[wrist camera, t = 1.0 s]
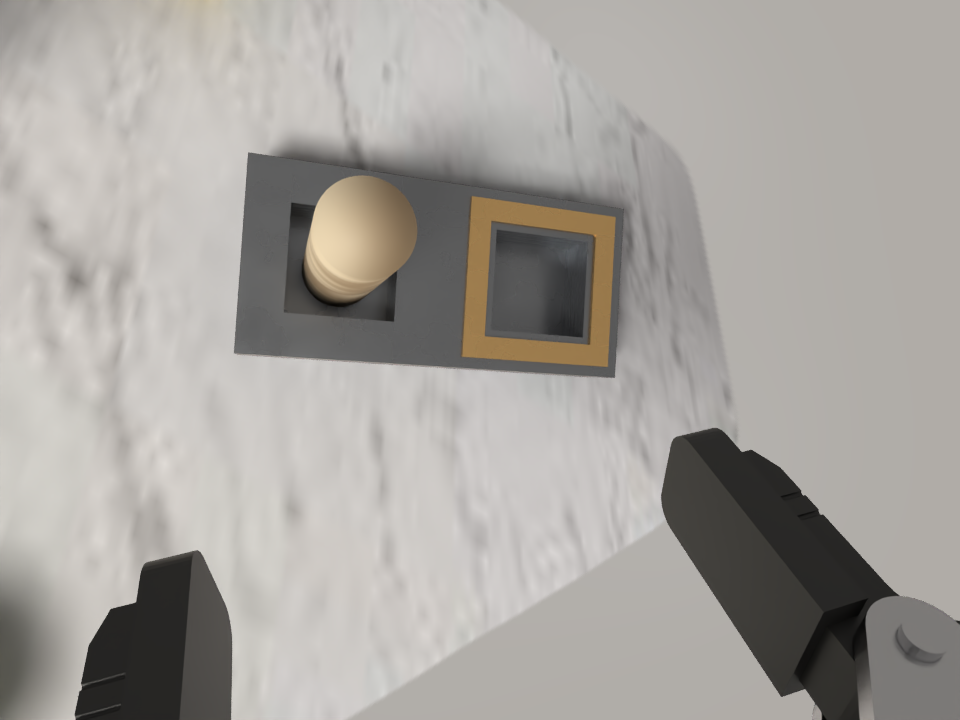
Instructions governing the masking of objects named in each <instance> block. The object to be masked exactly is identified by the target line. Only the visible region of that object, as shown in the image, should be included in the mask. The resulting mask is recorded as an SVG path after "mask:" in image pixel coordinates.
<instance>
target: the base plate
mask: <svg viewBox="0 0 960 720" xmlns="http://www.w3.org/2000/svg"><path fill="white" fill-rule="evenodd" d="M362 175H363V176H372V177H376V178H379V179H382V180H384V181H386V182H388V183H390V184H392V185H393V186H395V187H396V188H397V189H398V190H399V191H401V193H402V194H403V195H404V196H405V197H406V198H407V200H408V201H409V203H410V205H411V207H412V209H413V211H414V214H415V217H416V222H417V239H416V244H415V247H414V249H413V252H412V254H411V255H410V257H409V259H408V260H407V261H406V263H405V264H404V265H403V266H402V267H401V268H399V269H398V270H397V271H396V272H394V273H393V274H392V275H391V276H390V277H388V278H387V279H386V280H385V281H384V282H382V283H381V284H380V285H379V286H378V287H376V288H375V289H374V290H373V291H371V292H370V293H369V294H368V295H367V296H365V297H364V298H363V299H362V300H360V301H359V302H357V303H355V304H353V305H351V306H347V307H332V306H328V305H326V304H323V303H321V302H320V301H318V300H317V299H315V298H314V297H313V296H312V295H311V294H310V292H309V291H308V290H307V288H306V286H305V284H304V281H303V278H302V263H303V258H304V254H305V250H306V245H307V241H308V237H309V233H310V228H311V224H312V220H313V215H314V212H315V208H316V206H317V203H318V201H319V199H320V198H321V196H322V195H323V194H324V192H325V191H326V190H327V189H328V188H329V187H330V186H332V185H333V184H335V183H336V182H338V181H340V180H342V179H345V178H348V177H352V176H362ZM623 210H624V209H620V208H613V207H607V206H600V205H593V204H587V203H580V202H574V201H567V200H560V199H554V198H547V197H540V196H534V195H527V194H520V193H514V192H507V191H501V190H494V189H487V188H481V187H474V186H467V185H461V184H454V183H447V182H441V181H434V180H428V179H421V178H414V177H408V176H401V175H394V174H388V173H381V172H374V171H368V170H361V169H355V168H348V167H341V166H335V165H328V164H321V163H315V162H308V161H302V160H295V159H288V158H282V157H275V156H268V155H262V154H255V153H248V163H247V177H246V191H245V205H244V219H243V233H242V248H241V262H240V276H239V290H238V304H237V318H236V332H235V346H234V353H235V354H238V355H250V356H265V357H281V358H296V359H312V360H328V361H343V362H359V363H375V364H390V365H406V366H421V367H437V368H453V369H468V370H484V371H500V372H515V373H531V374H546V375H562V376H578V377H606V378H615V363H616V344H617V325H618V306H619V287H620V268H621V249H622V229H623Z"/></svg>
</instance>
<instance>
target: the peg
mask: <svg viewBox="0 0 960 720" xmlns="http://www.w3.org/2000/svg"><path fill="white" fill-rule="evenodd" d="M416 239H417V222H416V217H415V214H414V211H413V209H412V207H411V205H410V203H409V201H408V200H407V198H406V197H405V196H404V195H403V194H402V193H401V191H399V190H398V189H397V188H396V187H395V186H393V185H392V184H390V183H388V182H386V181H384V180H382V179H379V178H376V177H372V176H363V175H362V176H352V177H348V178H345V179H342V180H340V181H338V182H336V183H335V184H333V185H332V186H330V187H329V188H328V189H327V190H326V191H325V192H324V194H323V195H322V196H321V198H320V199H319V201H318V203H317V206H316V208H315V212H314V215H313V220H312V224H311V228H310V233H309V237H308V241H307V245H306V250H305V254H304V258H303V263H302V278H303V281H304V284H305V286H306V288H307V290H308V291H309V292H310V294H311V295H312V296H313V297H314V298H315V299H317V300H318V301H320V302H321V303H323V304H326V305H328V306H332V307H347V306H351V305H353V304H355V303H357V302H359V301H360V300H362V299H363V298H364V297H365V296H367V295H368V294H369V293H370V292H371V291H373V290H374V289H375V288H376V287H378V286H379V285H380V284H381V283H382V282H384V281H385V280H386V279H387V278H388V277H390V276H391V275H392V274H393V273H394V272H396V271H397V270H398V269H399V268H401V267H402V266H403V265H404V264H405V263H406V261H407V260H408V259H409V257H410V255H411V254H412V252H413V249H414V247H415V244H416Z"/></svg>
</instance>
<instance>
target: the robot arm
mask: <svg viewBox="0 0 960 720" xmlns="http://www.w3.org/2000/svg"><path fill="white" fill-rule="evenodd" d="M661 501H662V508H663V512H664V515H665V518H666V520H667V523H668V525H669V526H670V528H671V530H672V531H673V533H674V534H675V536H676V537H677V539H678V540H679V542H680V543H681V545H682V546H683V548H684V550H685V551H686V553H687V554H688V556H689V557H690V559H691V560H692V562H693V563H694V565H695V566H696V568H697V569H698V571H699V572H700V574H701V575H702V577H703V579H704V580H705V582H706V583H707V584H708V586H709V588H710V589H711V591H712V592H713V594H714V595H715V597H716V598H717V600H718V601H719V603H720V604H721V606H722V607H723V609H724V610H725V612H726V614H727V615H728V617H729V618H730V619H731V621H732V623H733V624H734V626H735V627H736V629H737V630H738V632H739V633H740V635H741V636H742V638H743V639H744V641H745V642H746V644H747V645H748V647H749V649H750V650H751V652H752V653H753V655H754V656H755V658H756V659H757V661H758V662H759V664H760V665H761V667H762V668H763V670H764V671H765V673H766V674H767V676H768V677H769V679H770V680H771V682H772V684H773V685H774V687H775V688H776V690H777V691H778V693H779V694H780V696H781V697H783V696H786V695H788V694H792V693H794V692H797V691H800V690H803V689H806V691H807V692H808V693H809V695H810V696H811V698H812V699H813V701H814V702H815V705H814V709H813V716H812V719H813V720H960V621H955V620H954V619H953V618H951V617H950V616H949V615H947V614H946V613H944V612H943V611H941V610H939V609H938V608H936V607H934V606H933V605H930V604H928V603H926V602H924V601H920V600H917V599H914V598H909V597H903V596H899V595H898V594H897V593H895V592H894V591H893V590H892V589H891V588H890V587H889V586H888V585H887V584H886V583H885V582H884V581H883V580H882V579H881V577H880V576H879V575H878V574H877V573H876V572H875V571H874V570H873V569H872V568H871V567H870V565H869V564H868V563H867V562H866V561H865V560H864V559H863V558H862V557H861V556H860V554H859V553H858V552H857V551H856V550H855V549H854V548H853V547H852V546H851V545H850V543H849V542H848V541H847V540H846V539H845V538H844V537H843V536H842V535H841V534H840V533H839V532H838V531H837V529H836V528H835V527H834V526H833V525H832V524H831V523H830V522H829V520H828V519H827V518H826V517H825V516H824V515H820V514H819V511H818V508H817V507H816V506H815V505H814V504H813V503H812V502H811V501H810V500H809V499H808V497H807V496H805V495H804V496H803V495H802V493H801V490H800V489H799V488H798V486H796V484H795V483H794V482H793V481H792V480H791V479H790V478H789V477H788V476H787V474H786V473H785V472H784V471H783V470H782V469H781V468H780V467H778V466H777V465H775V464H774V463H772V462H770V461H769V460H767V459H766V458H764V457H762V456H761V455H759V454H757V453H756V452H754V451H753V450H749V451H745V452H741V451H740V450H739V448H738V447H737V446H736V445H735V444H734V443H733V442H732V440H731V439H730V438H729V437H728V436H727V435H726V434H725V433H724V432H723V431H722V430H720V429H718V428H711V429H707V430H703V431H699V432H694V433H690V434H686V435H682V436H678V437H676V438H674V439H673V441H672V444H671V448H670V453H669V458H668V463H667V468H666V473H665V478H664V483H663V488H662V494H661ZM81 684H82V691H79V696H78V701H77V706H76V711H75V717H76V720H231V689H232V633H231V625H230V620H229V615H228V611H227V608H226V605H225V603H224V601H223V599H222V596H221V594H220V592H219V590H218V588H217V586H216V583H215V581H214V579H213V577H212V575H211V573H210V570H209V568H208V566H207V564H206V562H205V560H204V557H203V556H202V554H201V553H200V552H199V551H198V550H196V551H192V552H188V553H184V554H180V555H175V556H171V557H167V558H163V559H159V560H155V561H150V562H147V563H145V564H144V566H143V568H142V571H141V575H140V581H139V588H138V594H137V601H136V603H133V604H129V605H125V606H121V607H117V608H113V609H111V610H110V611H109V613H108V615H107V616H106V618H105V620H104V621H103V623H102V625H101V626H100V628H99V630H98V631H97V633H96V635H95V636H94V638H93V639H92V641H91V643H90V644H89V647H88V652H87V657H86V662H85V667H84V672H83V677H82V682H81Z"/></svg>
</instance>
